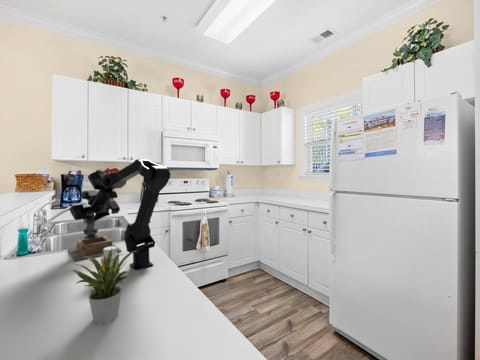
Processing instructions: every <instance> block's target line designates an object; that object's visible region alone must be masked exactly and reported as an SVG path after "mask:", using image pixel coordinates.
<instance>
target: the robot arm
mask: <svg viewBox="0 0 480 360" xmlns="http://www.w3.org/2000/svg"><path fill="white" fill-rule="evenodd" d="M138 175H140V176H141V177H143V184H144V192H143V196H142V199H141V202H140V205H139V208H138V210H137V214H136V217H135V220H134V222H132V223H128V224H127V226H126V230H125V232H124V240H123V241H124V243H125V247H126V252H127V253H128V254H129V253H131V252H133V251H136V252H134V253H132V263H129V266H130V267H131V268H133V269H134V270H135V271H137V270H140V269H145V268H148V267H152V266H153V265H154V263H153V262H151V260H150V249H151V248H154V247H155V246H156V241H155V239H154V237H153V236H152V235H151V228H150V222H151V218H152V217H153V213H154V210H155V207H156V204H157V200H158V198H159V195H160V192H161V191H162V190H163V189H164V188H165V187H166V186H167V184H168V183H169V180H170V178H171V172H170V170H169V168H168V167H167V166H164V165H161V164H157V163H155V162H152V161H151V160H149V159H146V158H137V159H135V160H134V161H133V162H131V163H130V164H128V165H126V166H125V167H123V168H122V169H120V170H118V171H116V172H110V173H106V174H104V171H103V170H102V169H96V171H94V172H93V171H92V172H91V173H90V174H88V176H87V179H88V181H89V182H90V184H91V186H92V187H93V190H90V189H89V190H83V191H81V193H80V198H81V199H82V200H86V201H87V205H88V206H84V205H83V204H75V205H71V206H70V208H69V212H70V213H71V216H72V217H73V220H76V221H79V220H80V221H81V220H82V222H83V223H84V224H87V222H88V221H89V220H90V219H92V216H91V215H92V213H94V220H95V222H97V221H99V220H101V219H103V218H105V217H108V216H110V214H112V215H115V214H119V213H120V210H121V208H120V206H119V205H118V203H117V201H116V200H112V199H117V198H118V193H117V191H116V190H117V189H122V188H124V186H125V185H126V184H127V181H129V180H131V179H132V178H134V177H136V176H138ZM115 189H116V190H115ZM110 210H111V211H110ZM110 212H111V213H110ZM137 250H138V251H137Z"/></svg>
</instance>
